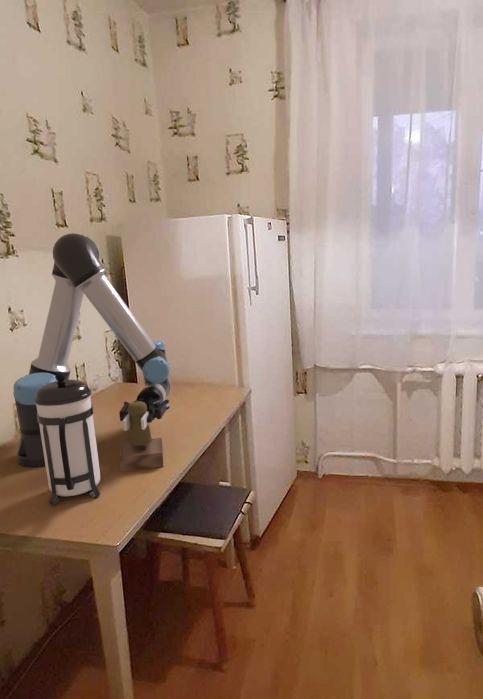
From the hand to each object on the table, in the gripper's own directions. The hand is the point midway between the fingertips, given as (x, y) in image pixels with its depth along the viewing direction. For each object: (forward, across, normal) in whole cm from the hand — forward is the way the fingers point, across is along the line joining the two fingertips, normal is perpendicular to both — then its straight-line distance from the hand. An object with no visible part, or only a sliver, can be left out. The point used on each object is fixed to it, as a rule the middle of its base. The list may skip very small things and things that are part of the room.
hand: (133, 425), depth 130 cm
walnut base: (-5, 0, -12) cm, 13 cm away
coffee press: (+12, +12, -12) cm, 21 cm away
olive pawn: (-5, 0, -7) cm, 9 cm away
